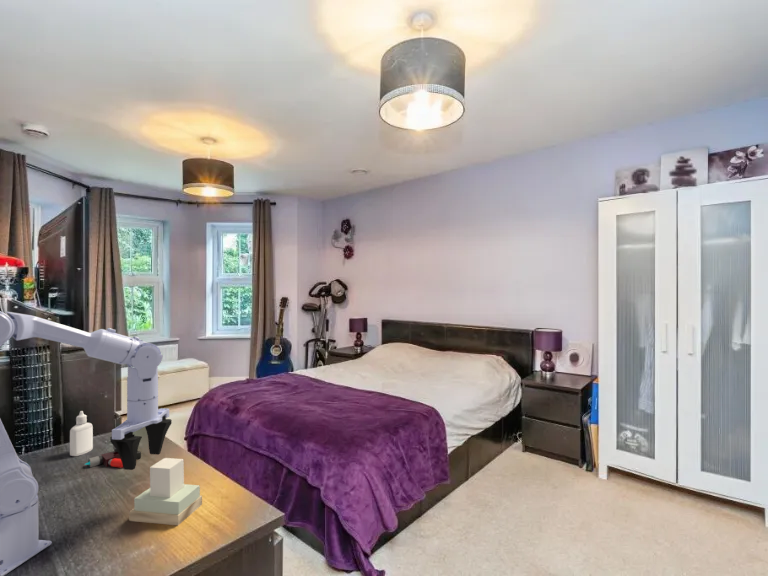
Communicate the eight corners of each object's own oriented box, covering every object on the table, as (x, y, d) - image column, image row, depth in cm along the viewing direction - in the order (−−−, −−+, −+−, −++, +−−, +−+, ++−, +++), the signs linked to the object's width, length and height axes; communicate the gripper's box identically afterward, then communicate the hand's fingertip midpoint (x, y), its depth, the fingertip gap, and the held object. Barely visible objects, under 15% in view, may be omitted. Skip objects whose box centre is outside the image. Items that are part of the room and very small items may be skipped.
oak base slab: (178, 528, 81) (178, 515, 81) (129, 523, 83) (129, 511, 83) (202, 507, 89) (202, 495, 89) (156, 503, 91) (156, 491, 91)
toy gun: (82, 467, 108) (82, 449, 108) (132, 453, 118) (132, 436, 118) (93, 478, 102) (93, 459, 102) (145, 462, 111) (145, 445, 111)
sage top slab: (178, 514, 82) (178, 502, 82) (134, 510, 83) (134, 498, 83) (199, 496, 89) (199, 485, 89) (158, 493, 90) (158, 482, 90)
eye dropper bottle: (95, 451, 118) (95, 410, 118) (71, 458, 114) (71, 415, 114) (91, 448, 121) (91, 407, 121) (67, 453, 117) (67, 411, 117)
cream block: (170, 497, 84) (169, 468, 83) (150, 495, 84) (149, 467, 84) (183, 486, 88) (183, 459, 88) (164, 485, 89) (164, 457, 89)
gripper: (134, 408, 79) (134, 477, 79) (181, 389, 94) (181, 448, 94) (102, 406, 80) (102, 475, 80) (153, 388, 95) (153, 447, 95)
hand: (142, 461), depth 87 cm, fingers open, 7 cm apart
